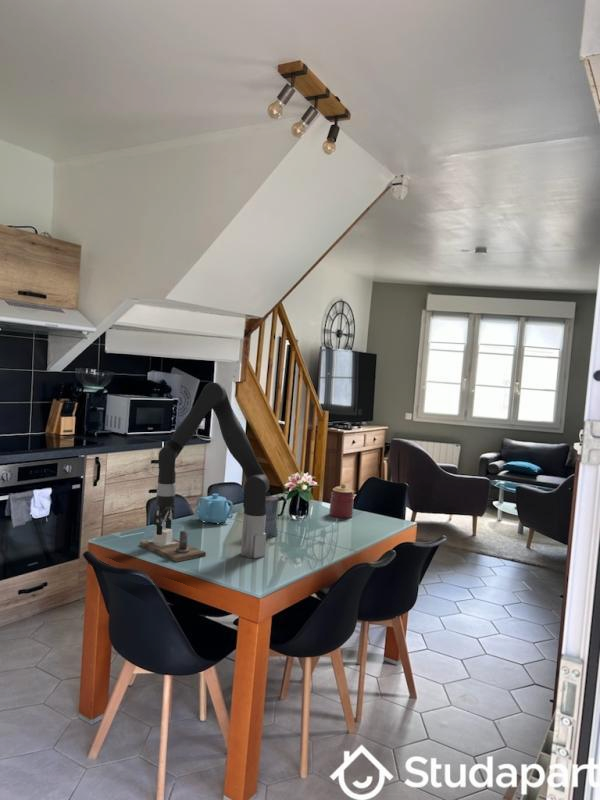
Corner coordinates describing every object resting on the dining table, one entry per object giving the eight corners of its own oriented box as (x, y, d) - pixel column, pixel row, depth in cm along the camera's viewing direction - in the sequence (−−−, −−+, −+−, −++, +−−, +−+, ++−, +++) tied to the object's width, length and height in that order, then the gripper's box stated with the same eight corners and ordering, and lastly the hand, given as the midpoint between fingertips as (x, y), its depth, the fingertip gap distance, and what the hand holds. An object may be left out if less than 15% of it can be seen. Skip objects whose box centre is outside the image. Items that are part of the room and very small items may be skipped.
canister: (356, 518, 329) (358, 486, 328) (333, 518, 325) (336, 485, 324) (347, 512, 341) (350, 481, 340) (326, 512, 338) (328, 481, 337)
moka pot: (249, 532, 284) (252, 490, 283) (279, 531, 291) (282, 489, 290) (257, 538, 275) (260, 495, 274) (287, 536, 282) (291, 494, 281)
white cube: (165, 544, 250) (166, 532, 249) (153, 542, 251) (154, 530, 251) (171, 540, 255) (172, 529, 255) (159, 539, 256) (160, 527, 256)
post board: (205, 555, 245) (207, 532, 244) (176, 562, 234) (178, 537, 234) (168, 539, 262) (169, 518, 262) (139, 545, 252) (141, 522, 252)
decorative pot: (193, 517, 304) (194, 490, 303) (223, 516, 310) (225, 490, 310) (202, 526, 289) (203, 498, 288) (234, 524, 296) (236, 497, 295)
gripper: (166, 497, 244) (164, 537, 245) (181, 491, 258) (179, 529, 259) (149, 495, 246) (147, 535, 246) (165, 489, 260) (163, 527, 260)
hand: (163, 532), depth 253 cm, fingers open, 8 cm apart
